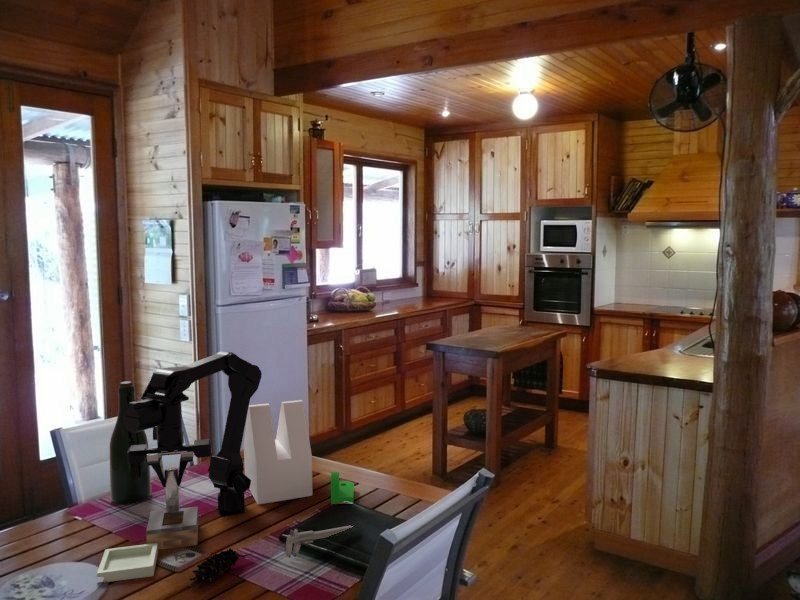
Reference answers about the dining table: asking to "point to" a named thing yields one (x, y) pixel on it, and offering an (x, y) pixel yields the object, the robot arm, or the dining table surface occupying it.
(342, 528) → the caliper
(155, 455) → the robot arm
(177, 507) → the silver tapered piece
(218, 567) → the pine cone
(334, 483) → the mechanical part
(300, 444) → the white notched block
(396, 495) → the dining table surface
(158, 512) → the block
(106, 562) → the tray
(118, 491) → the dark green wine bottle
